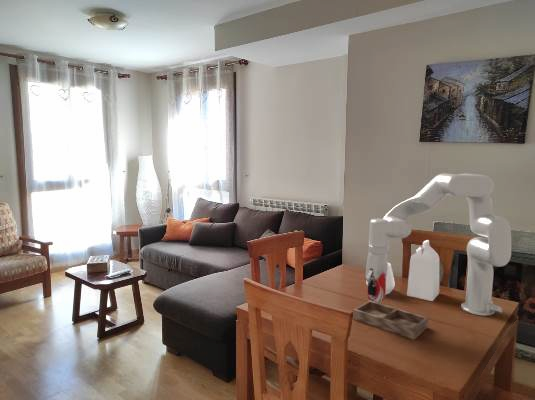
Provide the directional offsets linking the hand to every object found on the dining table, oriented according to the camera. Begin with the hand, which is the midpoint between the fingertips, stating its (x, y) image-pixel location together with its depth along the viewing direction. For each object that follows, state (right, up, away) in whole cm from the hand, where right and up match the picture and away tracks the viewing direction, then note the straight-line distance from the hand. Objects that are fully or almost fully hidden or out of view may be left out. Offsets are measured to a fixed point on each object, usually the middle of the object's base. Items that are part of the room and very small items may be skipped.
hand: (376, 292), depth 154 cm
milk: (+30, -8, +28) cm, 42 cm away
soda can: (0, -3, +1) cm, 3 cm away
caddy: (+4, -12, -3) cm, 13 cm away
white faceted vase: (+11, -7, +32) cm, 35 cm away
